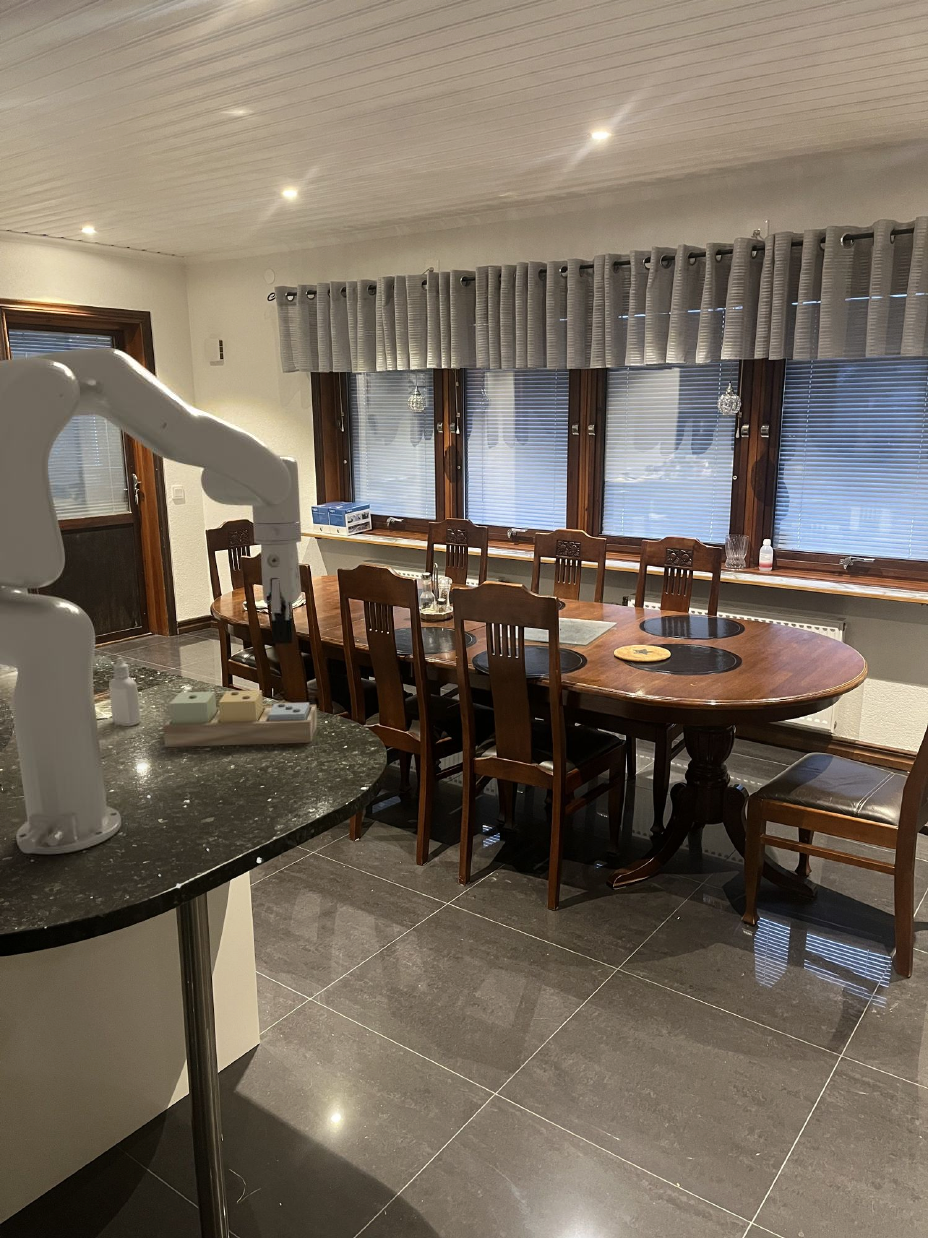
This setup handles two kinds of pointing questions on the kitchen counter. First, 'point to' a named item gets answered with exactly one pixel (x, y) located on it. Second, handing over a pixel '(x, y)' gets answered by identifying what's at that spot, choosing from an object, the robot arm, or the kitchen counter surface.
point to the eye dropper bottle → (124, 696)
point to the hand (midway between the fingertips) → (283, 642)
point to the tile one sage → (193, 707)
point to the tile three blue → (289, 711)
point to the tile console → (241, 731)
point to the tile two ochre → (241, 706)
